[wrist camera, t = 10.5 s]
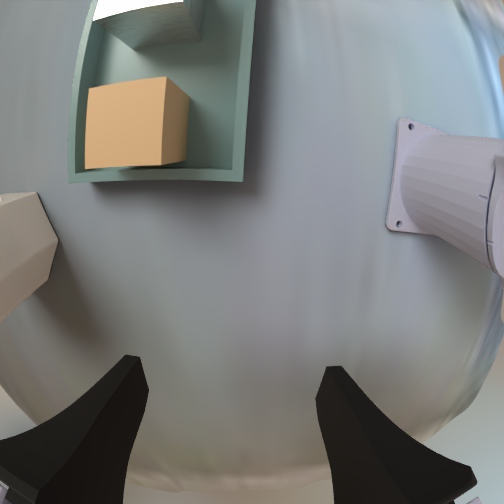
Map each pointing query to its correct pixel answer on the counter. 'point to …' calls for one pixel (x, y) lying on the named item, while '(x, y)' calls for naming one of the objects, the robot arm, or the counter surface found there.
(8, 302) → the jar
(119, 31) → the concrete cube
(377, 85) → the counter surface
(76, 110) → the tote
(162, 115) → the tan box
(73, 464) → the robot arm
